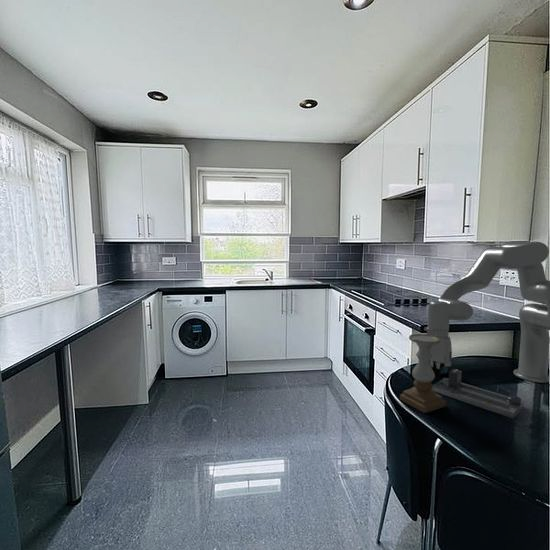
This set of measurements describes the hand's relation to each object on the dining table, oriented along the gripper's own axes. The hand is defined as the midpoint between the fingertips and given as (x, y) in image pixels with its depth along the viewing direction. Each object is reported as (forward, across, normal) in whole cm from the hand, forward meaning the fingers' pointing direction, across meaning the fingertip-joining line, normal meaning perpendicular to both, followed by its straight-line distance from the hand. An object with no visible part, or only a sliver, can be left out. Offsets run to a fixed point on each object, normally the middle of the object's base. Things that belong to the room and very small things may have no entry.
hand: (435, 376), depth 125 cm
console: (+4, +14, 0) cm, 15 cm away
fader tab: (+2, +7, 0) cm, 7 cm away
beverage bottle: (+4, -4, +13) cm, 14 cm away
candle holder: (+4, +3, -18) cm, 19 cm away
